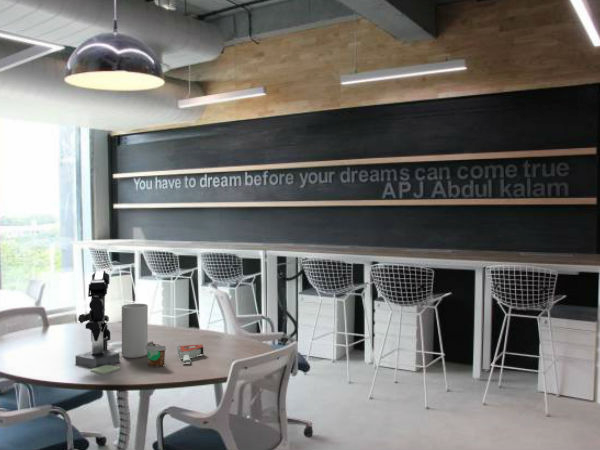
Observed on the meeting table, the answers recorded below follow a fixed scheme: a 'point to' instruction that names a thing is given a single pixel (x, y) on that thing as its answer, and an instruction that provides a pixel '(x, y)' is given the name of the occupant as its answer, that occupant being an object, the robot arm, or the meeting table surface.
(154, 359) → the food container
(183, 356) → the grey and red box
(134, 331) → the cylinder vase
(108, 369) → the mat
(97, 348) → the silver upright cylinder
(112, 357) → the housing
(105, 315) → the robot arm
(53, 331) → the meeting table surface
